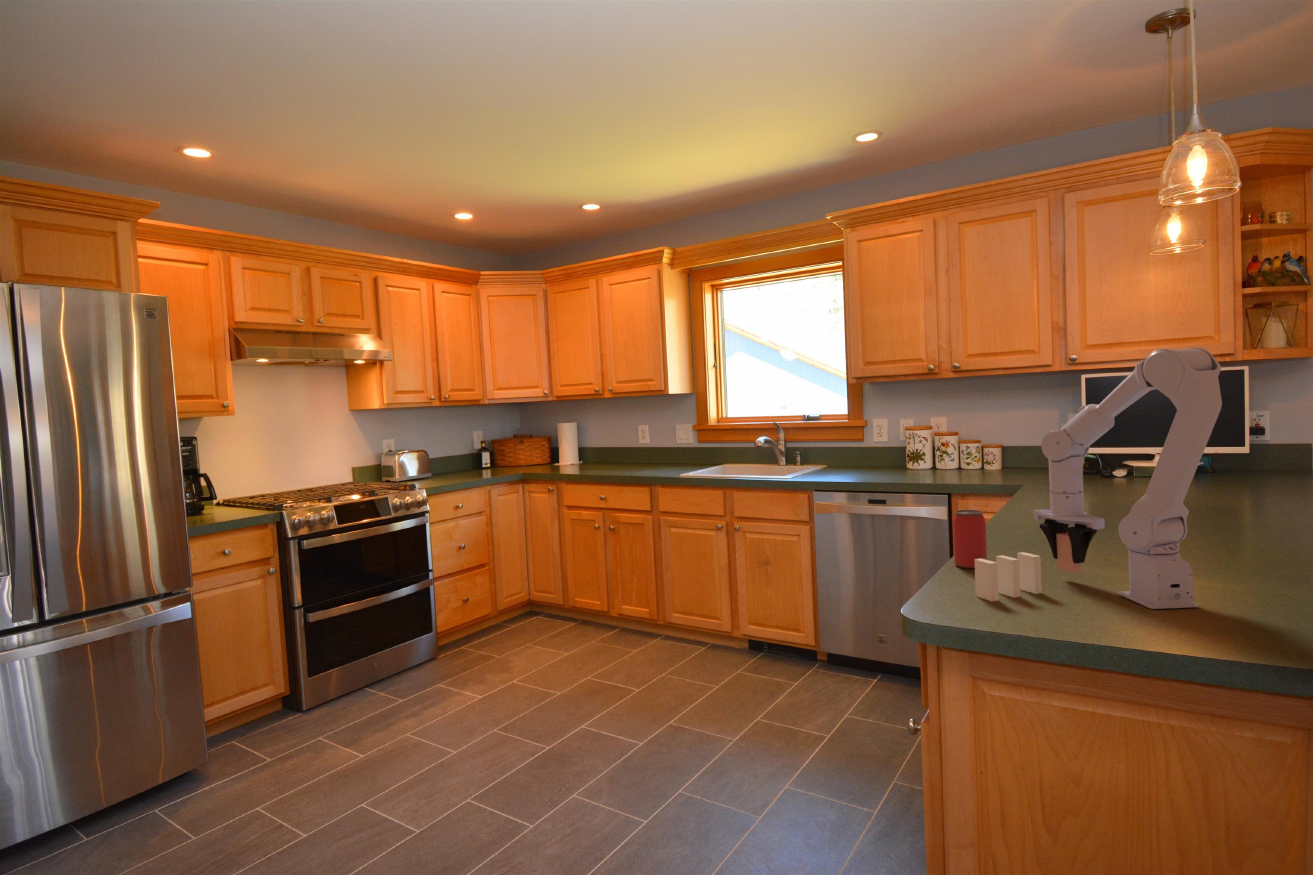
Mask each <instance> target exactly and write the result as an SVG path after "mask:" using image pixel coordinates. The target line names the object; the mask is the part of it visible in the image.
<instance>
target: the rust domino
mask: <svg viewBox="0 0 1313 875" xmlns="http://www.w3.org/2000/svg"><path fill="white" fill-rule="evenodd" d="M1056 535H1057V559H1056V560H1057V561H1056V562H1057V569H1059V570H1062V571H1066V572H1070V573H1073V574H1076V573H1081V572H1082V563H1073V559H1072V549H1071V543H1070V539H1069V536H1068V533H1067V534H1065V533H1058V534H1056Z"/></svg>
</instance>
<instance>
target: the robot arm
mask: <svg viewBox="0 0 1313 875" xmlns="http://www.w3.org/2000/svg"><path fill="white" fill-rule="evenodd" d="M1221 370H1222V366H1221V364H1220V362H1218V360H1217V359H1216V358H1215V356H1214V355H1213V354H1212V353H1211V352H1210V351H1209V350H1207V349H1205V348H1203V347H1190V348H1175V349H1174V348H1170V349H1169V348H1160V349H1159V348H1158V349H1156V350H1153V351H1152V352H1151V353H1150V354H1148V355H1147V356H1146V358H1145V359H1142V360H1141V361H1139V362H1137V363H1136V365H1135V367H1134V369H1133V371H1131V373H1129V374H1128V375H1127V377H1126V378H1124V379H1123V380H1122V381H1121V382H1120V383H1119V384H1118V385H1117V386H1116V387H1115V388H1114V389H1113V390H1112V391H1111V392H1110V393H1109V394H1108V395H1107V396H1106V397H1105V398H1103V400H1102V401H1100V403H1099V404H1095V403H1090V404H1087V405H1082V406H1080V407H1079V408H1078V409H1077V411H1078V413H1076V415H1075V416H1073V417H1072V418H1071V419H1070V420H1069V421H1067V422H1064V423H1062V424H1061V425H1060V427H1061V428H1060V429H1059V430H1051V431H1047V433H1046V434H1045V435H1044V436H1043V438H1042V440H1041V443H1040V446H1041V452H1042V454H1043V455H1044V456H1045V458H1047V459H1048V479H1049V480H1048V482H1049V502H1050V505H1049V506H1050V509H1043V508H1040V509H1039V508H1038V509H1034V510H1033V519H1034V520H1035V521H1038V520H1039V521H1040V520H1041V521H1044V522H1042V523H1039V528H1040V529H1041V531H1042V533H1043V534H1044V535H1045V538H1046V540H1047V541H1048V545H1049V547H1050V550H1051V554H1052V556H1053V559H1056V560H1057V535H1056V534H1058V533H1065V534H1068V536H1069V539H1070V543H1071V549H1072V559H1073V563H1081V564H1083V563H1085V561H1086V557H1087V553H1088V549H1089V546H1090V544H1091V541H1092V540H1093V539H1094V537H1095V535H1096V533H1097V532H1098V530H1104V529H1105V528H1106V527H1105V526H1106V525H1105V518H1103V517H1098V516H1095V515H1091V514H1087V512H1086V511H1085V497H1084V495H1085V494H1084V493H1085V492H1084V473H1083V472H1084V469H1083V468H1084V465H1085V458H1086V456H1087V454H1088V453H1089V451H1090V447H1091V445H1092V444H1094V443H1095V442H1096V441H1098V439H1100V438H1101V437H1102V436H1104V435H1105V434H1106V433H1107V432H1108V431H1109V430H1111V429H1112V428H1113V427H1114V426H1115V417H1116V416H1118V415H1119V414H1121V412H1123V411H1124V410H1126V409H1128V408H1129V407H1130V406H1131V405H1133V404H1134V403H1135V402H1137V401H1138V400H1139V399H1141V398H1142V397H1143V396H1145V395H1146V394H1147V393H1149V392H1150V391H1153V390H1158V391H1159V392H1160V393H1161V394H1163V395H1164V396H1165V397H1166V398H1168V400H1170V401H1171V403H1172V404H1173V406H1174V407H1175V408H1176V412H1175V415H1174V418H1173V420H1172V423H1171V426H1170V427H1169V431H1168V433H1167V436H1166V438H1165V441H1164V443H1163V444H1164V445H1163V447H1162V449H1161V452H1160V454H1159V457H1158V460H1157V463H1156V465H1155V467H1154V471H1153V472H1152V476H1151V478H1150V481H1149V483H1148V486H1147V489H1146V490H1145V493H1144V495H1143V496H1141V497H1140V498H1139V499H1138V500H1137V501H1136V502H1135V503H1134V504H1133V505H1132V506H1131V508H1130V511H1129V512H1128V514H1127V515H1126V516H1124V517H1123V518H1122V519H1121V520H1120V521H1119V524H1118V529H1117V532H1118V536H1119V539H1120V540H1121V542H1122V543H1123V544H1124V545H1125V546H1126V551H1128V578H1129V579H1128V580H1129V581H1128V585H1129V586H1128V587H1129V590H1125V591H1124V590H1123V591H1118V593H1117V594H1118V595H1119V596H1121V597H1124V598H1126V599H1129V600H1131V601H1133V602H1134V603H1137V604H1139V605H1142V606H1144V607H1145V608H1148V609H1151V610H1157V609H1158V610H1161V609H1180V608H1185V609H1186V608H1199V607H1200V604H1199V603H1197V602H1194V571H1193V569H1192V567H1191V564H1189V562H1187V560H1185V559H1183V558H1182V557H1181V555H1180V552H1179V550H1180V543H1181V542H1183V541H1184V540H1185V538H1186V536H1187V533H1188V524H1187V523H1188V522H1187V519H1188V516H1189V513H1190V511H1189V509H1188V508H1187V507H1186V505H1185V504H1184V501H1185V499H1186V497H1187V494H1188V491H1189V490H1190V489H1189V488H1190V486H1191V483H1192V481H1193V479H1194V477H1195V474H1196V471H1197V470H1198V467H1199V465H1200V461H1201V459H1202V457H1203V454H1204V452H1205V450H1206V447H1207V444H1208V442H1209V440H1210V437H1211V435H1212V432H1213V429H1214V427H1215V424H1216V422H1217V420H1218V418H1219V415H1220V413H1221V410H1222V407H1223V401H1222V393H1221V389H1220V388H1221V386H1220V382H1219V376H1220V373H1221ZM1070 525H1072V526H1070Z"/></svg>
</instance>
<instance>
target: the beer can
mask: <svg viewBox="0 0 1313 875" xmlns="http://www.w3.org/2000/svg"><path fill="white" fill-rule="evenodd" d="M986 525H987V521H986V519H985V516H984V515H983V511H982V510H977V509H961V510H959V509H958V510H955V512H954V516H953V521H952V529H953V530H952V531H953V533H952V536H953V559H954V558H955V559H954V565H955V566H957V567H958V568H964V569H969V568H972V569H971V570H974V569H973V568H975V561H974V559H980V558H981V559H985V560H988V551H987V529H986V528H987V526H986Z"/></svg>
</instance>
